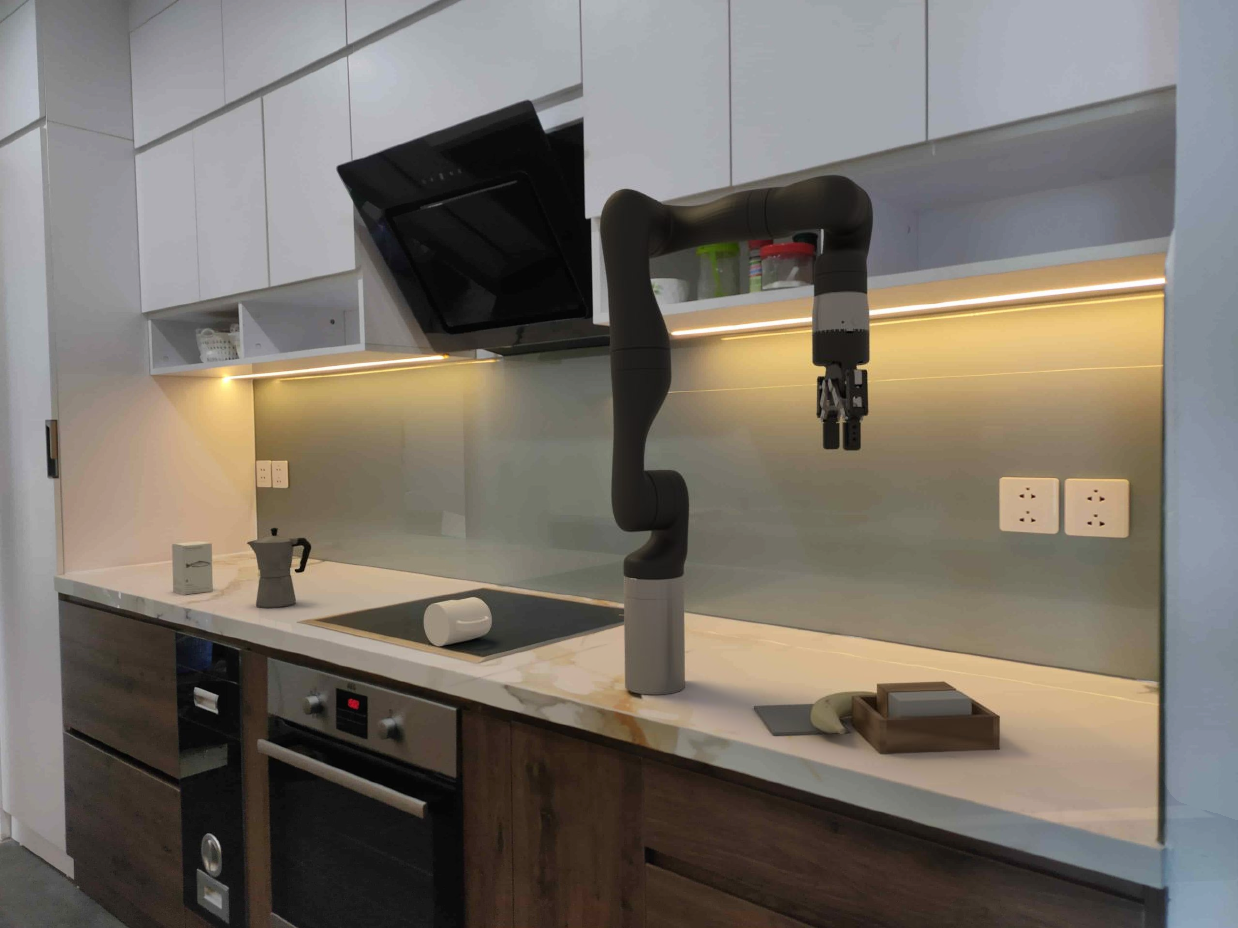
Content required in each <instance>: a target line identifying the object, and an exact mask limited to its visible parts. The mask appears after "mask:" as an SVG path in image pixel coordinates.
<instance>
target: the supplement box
mask: <svg viewBox="0 0 1238 928" xmlns="http://www.w3.org/2000/svg"><path fill="white" fill-rule="evenodd" d="M212 545H213V544H212V542H208V541H202V540H199V541H189V542H188V541H187V542H177V543H172V544H171V551H172V552H171V553H172V561H171V563H172V592H173V593H176V594H179V595H181V596H186V595H192V594H194V595H195V594H201V593H209V592H210V591H212V592H213V589H214V586H213V585H214V584H213V546H212Z"/></svg>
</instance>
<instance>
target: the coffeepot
mask: <svg viewBox="0 0 1238 928" xmlns="http://www.w3.org/2000/svg"><path fill="white" fill-rule="evenodd" d="M278 530H279V528H277V527H272V528H270V533H271V535H270V536H267V537H262V538H257V539H253V540H250V541H247V543H246V545H248V546H250V547H251V549H252V551H253V552H254V554H255V556H256V557H255V558H256V562H257V568H258V569H257V570H258V571H259V576H260V577H259V581H258V588H257V596H256V600H255V606H256V607H257V608H262V609H263V608H264V609H265V608H268V609H269V608H271V609H272V608H273V609H274V608H281V607H282V608H283V607H288V606H293V605H295V604H296V601H297V600H296V593H295V589H294V583H293V578H292V575H291V569H292V565H293V557H294V556H293V555H294V547H295V548H296V547H299V546H302V547H303V550H302V553H301V554H302V555H301V559H300V561H299V568H294V573H296V574H300V573H304V572H305V570H306V566H307V563H308V560H309V556H310V553H311V550H312V544H311V543H310V541H308V540H307V539H306V538H305V537H287V536H281V535H278Z"/></svg>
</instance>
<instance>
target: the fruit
mask: <svg viewBox="0 0 1238 928" xmlns="http://www.w3.org/2000/svg"><path fill="white" fill-rule="evenodd" d="M859 695H877V692H873V691H865V690H864V691H861V690H859V691H854V690H853V691H851V690H850V691H844V692H843V691H842V692H837V693H832V694H831V693H830V694H828V695H824V696H822V697H820V698H819V699H817V700H816V701H815V703H813V704H814V705H813V707H812V711H811V722H812V724H813V725H814V726H815V727H816V728H818V729H820V730H822V731H825V732H828V733H830V734H840V735H844V734H846V733H845V732H846V729H845V728H844V727H843V726H842V724H841V723H840V720H841V719H845V718H850V717H851V718H852V696H859ZM839 719H840V720H839ZM836 732H837V733H836Z"/></svg>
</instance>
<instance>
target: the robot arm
mask: <svg viewBox="0 0 1238 928" xmlns="http://www.w3.org/2000/svg"><path fill="white" fill-rule="evenodd" d="M873 211H874V210H873V202H872V199H871V198H870V195H869V194H868V193H867V191H866V190H865V189H864V188H863V187H861V186H860V185H858V184H857V183H856V182H855V181H853V180H852V179H851V178H849V177H846V176H844V175H838V174H829V175H820V176H819V175H818V176H814V177H810V178H807V179H804V180H803V179H802V180H801V181H800V180H799V181H796V182H793V183H790V184H788V185H785V186H774V187H773V186H771V187H763V188H755V189H754V188H753V189H749V190H748V189H747V190H743V191H741V190H740V191H737V192H734V193H731V194H727V195H725V196H723V197H721V198H718V199H715V200H714V201H710V202H707V203H702V204H697V205H674V204H673V205H672V204H664V203H662V202H661V201H659V200H657V199H655V198H653V197H651V196H649V195H647V194H645V193H643V192H641V191H638V190H636V189H631V188H621V189H618V190H616V191H614V192H613V193H612V194H610V196H609V197H608V198H607V199H606V201H605V203H604V205H603V207H602V210H601V212H600V213H601V214H600V218H599V219H600V220H599V231H600V233H599V234H600V240H601V241H600V242H601V243H600V244H601V248H602V257H603V264H604V270H605V276H606V285H607V286H606V287H607V302H608V303H607V305H608V319H609V320H608V322H609V324H608V325H609V354H610V355H609V357H610V358H609V360H610V379H611V395H612V416H613V417H612V419H613V421H612V423H613V441H612V463H611V488H610V500H611V509H612V515H613V518H614V521H615V523H616V525H617V527H618V528H619V529H621V530H622V531H623V532H627V533H637V532H638V533H639V532H651V533H650V536H649V539H648V540H647V541H646V542H645V543H644V545H642V546H641V547H640V548H638V549H637V550H635V551H633V552H630V553H628V554H627V555H626V556H625V558H624V560H623V564H622V565H623V568H622V569H623V610H624V611H623V614H624V615H623V620H624V622H623V623H624V624H623V625H624V626H623V630H624V634H623V635H624V637H623V638H624V687H625V689H626V690H627V691H629V692H631V693H636V694H641V695H656V696H657V695H668V694H669V695H670V694H675V693H677V692H680V691H682V690H683V689H685V688H686V667H685V666H686V650H685V649H686V648H685V647H686V645H685V644H686V643H685V642H686V641H685V640H686V639H685V632H686V631H685V563H686V559H687V557H688V547H689V545H688V544H689V524H690V522H689V521H690V495H689V489H688V485H687V483H686V481H685V478H684V477H683V476H682V474H681V473H680V472H678V471H677V470H674V469H645V454H646V453H645V452H646V443H647V439H648V435H649V431H650V429H651V427H652V425H653V423H654V420H655V419H656V417H657V416H658V414H659V411H660V410H661V409H662V406H663V404H664V402H665V400H666V398H667V396H668V393H669V391H670V388H671V384H672V375H673V374H672V355H671V353H672V352H671V342H670V335H669V332H668V328H667V325H666V322H665V318H664V317H663V314H662V311H661V309H660V306H659V302H658V301H657V297H656V294H655V291H654V288H653V285H652V280H651V279H652V278H651V271H650V269H651V267H650V259H654V258H655V259H656V258H659V257H663V256H666V255H671V254H674V253H678V252H680V251H685V250H689V249H694V248H700V247H704V246H710V245H711V246H712V245H719V244H726V243H728V244H729V243H739V242H754V241H766V240H779V239H787V238H791V237H792V236H794V235H795V234H797V233H798V232H801V231H810V230H822V231H823V238H822V252H821V254H819V255H818V256H817V257H816V259H815V261H814V265H813V305H812V312H811V338H812V339H811V341H812V342H811V348H812V349H811V350H812V351H811V352H812V355H811V359H812V360H811V362H812V364H813V365H814V366H816V367H823V368H824V369H825V374H824V375H820V376H819V375H818V376H817V378H816V418H817V419H819V420H820V422H821V423H822V448H823V450H838V449H840V446H841V444H840V442H841V441H840V440H841V439H840V430H841V429H840V428H841V427H840V420H842V421H843V422H842V449H843V450H844V451H851V452H852V451H854V452H855V451H860V449H861V447H862V446H861V445H862V442H861V441H862V435H861V433H862V430H861V429H862V422H863V421H864V417H867V416H868V415H869V413H870V412H869V388H868V387H869V385H868V379H869V377H868V375H869V374H868V370H867V369H865V368H864V369H861V368H858V367H859V366H864V365H867V364H868V363H870V361H871V360H870V359H871V358H870V357H871V355H870V354H871V353H870V352H871V351H870V344H871V343H870V340H871V339H870V334H871V333H870V326H871V325H870V307H869V301H868V299H869V297H868V263H867V261H868V257H869V253H870V246H871V242H872V241H871V239H872V235H873V234H872V232H873V228H874V227H873V226H874V212H873ZM841 418H842V419H841Z"/></svg>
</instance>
